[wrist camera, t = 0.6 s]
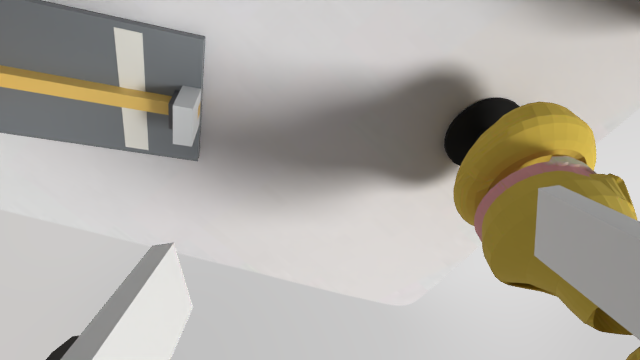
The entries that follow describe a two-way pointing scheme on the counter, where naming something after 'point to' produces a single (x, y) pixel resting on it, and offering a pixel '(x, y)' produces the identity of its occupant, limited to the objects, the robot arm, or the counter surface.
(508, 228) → the toy
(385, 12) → the counter surface
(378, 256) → the counter surface
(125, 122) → the sliding block track
